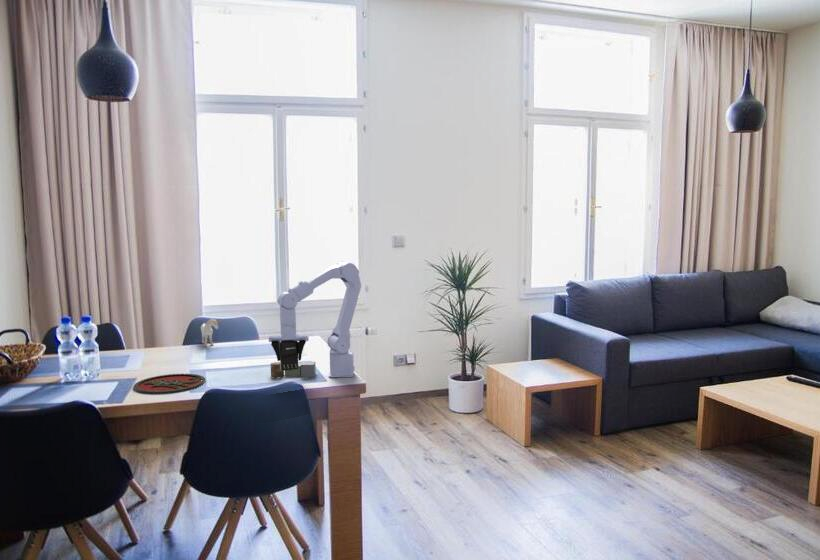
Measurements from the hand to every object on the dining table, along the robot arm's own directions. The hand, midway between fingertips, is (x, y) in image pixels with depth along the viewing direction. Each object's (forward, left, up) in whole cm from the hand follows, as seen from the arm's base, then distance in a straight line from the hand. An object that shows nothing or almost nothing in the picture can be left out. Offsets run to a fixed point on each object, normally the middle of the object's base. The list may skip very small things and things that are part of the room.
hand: (289, 360), depth 232 cm
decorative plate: (+44, +1, -9) cm, 45 cm away
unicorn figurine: (+47, -70, -8) cm, 85 cm away
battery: (0, 0, -4) cm, 4 cm away
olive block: (0, -10, -8) cm, 13 cm away
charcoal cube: (-6, -8, -8) cm, 13 cm away
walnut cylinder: (+6, -8, -8) cm, 13 cm away
